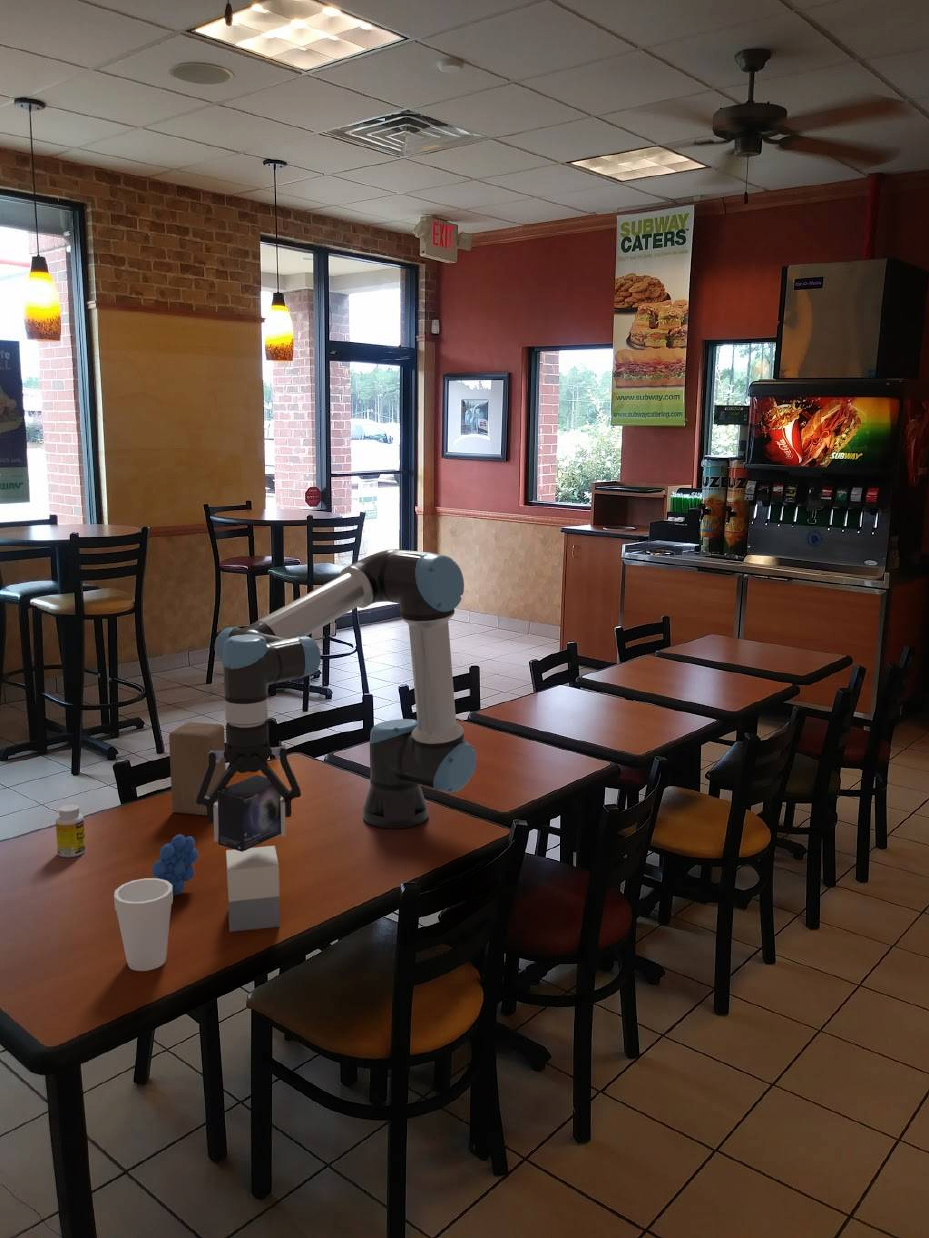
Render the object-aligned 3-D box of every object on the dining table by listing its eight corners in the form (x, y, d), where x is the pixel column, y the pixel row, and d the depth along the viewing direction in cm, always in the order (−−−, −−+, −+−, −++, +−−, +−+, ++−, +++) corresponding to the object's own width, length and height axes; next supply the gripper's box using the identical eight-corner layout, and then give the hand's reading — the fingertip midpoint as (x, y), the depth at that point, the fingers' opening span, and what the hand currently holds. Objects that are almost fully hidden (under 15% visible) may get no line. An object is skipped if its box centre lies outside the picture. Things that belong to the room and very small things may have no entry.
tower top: (275, 875, 189) (274, 845, 188) (279, 896, 181) (278, 865, 180) (227, 880, 187) (226, 850, 186) (228, 901, 178) (227, 870, 177)
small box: (243, 853, 176) (241, 797, 174) (216, 845, 179) (214, 790, 177) (283, 833, 185) (282, 780, 183) (257, 826, 188) (256, 773, 186)
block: (210, 817, 232) (206, 735, 228) (170, 813, 234) (167, 732, 230) (228, 802, 241) (225, 723, 238) (190, 798, 243) (187, 720, 240)
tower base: (277, 904, 190) (276, 875, 189) (279, 927, 182) (279, 896, 180) (229, 909, 188) (228, 879, 187) (229, 932, 179) (228, 901, 178)
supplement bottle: (80, 858, 209) (77, 812, 207) (53, 858, 209) (50, 812, 207) (89, 847, 214) (86, 802, 213) (63, 847, 214) (60, 802, 212)
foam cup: (181, 947, 174) (178, 878, 171) (168, 975, 165) (164, 903, 162) (127, 947, 174) (123, 878, 171) (110, 975, 164) (106, 903, 162)
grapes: (181, 878, 200) (179, 822, 198) (207, 885, 197) (204, 829, 195) (137, 901, 190) (134, 842, 188) (163, 909, 187) (160, 850, 185)
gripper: (311, 712, 184) (313, 823, 188) (179, 719, 178) (184, 833, 183) (314, 723, 177) (316, 838, 181) (177, 731, 171) (182, 849, 175)
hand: (250, 836), depth 182 cm, fingers closed on small box, 11 cm apart
